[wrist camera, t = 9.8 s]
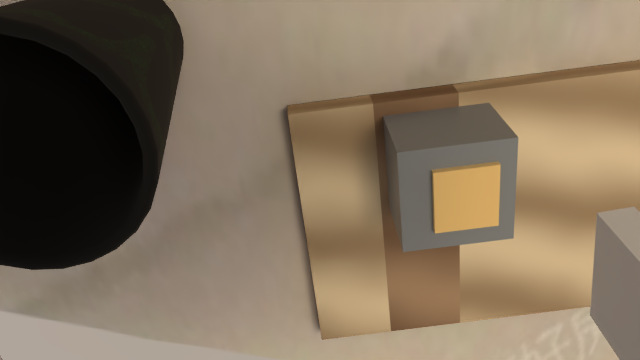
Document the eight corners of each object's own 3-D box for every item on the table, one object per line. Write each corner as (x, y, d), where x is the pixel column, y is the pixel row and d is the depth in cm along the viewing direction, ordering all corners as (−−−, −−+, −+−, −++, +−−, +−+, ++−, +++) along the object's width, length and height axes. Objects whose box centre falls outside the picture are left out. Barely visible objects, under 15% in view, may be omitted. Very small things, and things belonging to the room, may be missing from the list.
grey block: (383, 115, 28) (398, 155, 24) (489, 102, 28) (520, 140, 24) (389, 206, 30) (404, 256, 26) (487, 194, 30) (515, 242, 26)
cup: (219, -24, 26) (173, 55, 15) (195, 134, 29) (144, 288, 19) (34, -68, 25) (-156, -14, 14) (31, 103, 28) (-123, 249, 17)
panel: (287, 105, 29) (287, 114, 28) (785, 41, 28) (804, 48, 27) (320, 325, 35) (321, 339, 34) (724, 275, 35) (738, 287, 34)
